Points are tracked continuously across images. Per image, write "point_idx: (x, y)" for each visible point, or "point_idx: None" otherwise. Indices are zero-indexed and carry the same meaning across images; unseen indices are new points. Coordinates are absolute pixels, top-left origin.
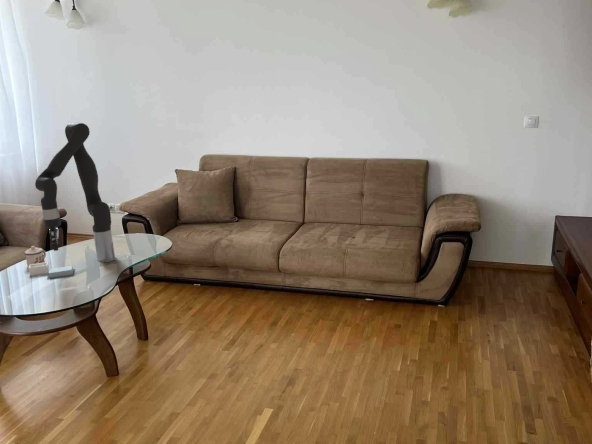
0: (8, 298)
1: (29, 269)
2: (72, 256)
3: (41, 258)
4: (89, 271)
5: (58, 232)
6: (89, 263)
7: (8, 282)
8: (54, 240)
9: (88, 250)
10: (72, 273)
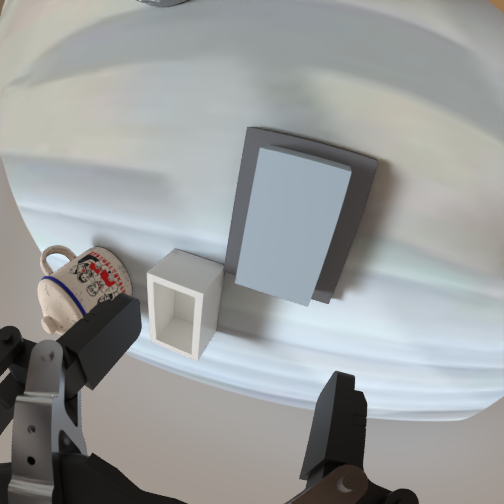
0: (390, 414)
1: (200, 353)
2: (56, 132)
3: (93, 280)
4: (323, 56)
5: (26, 434)
6: (173, 45)
7: (230, 385)
8: (103, 373)
9: (35, 74)
10: (350, 167)
